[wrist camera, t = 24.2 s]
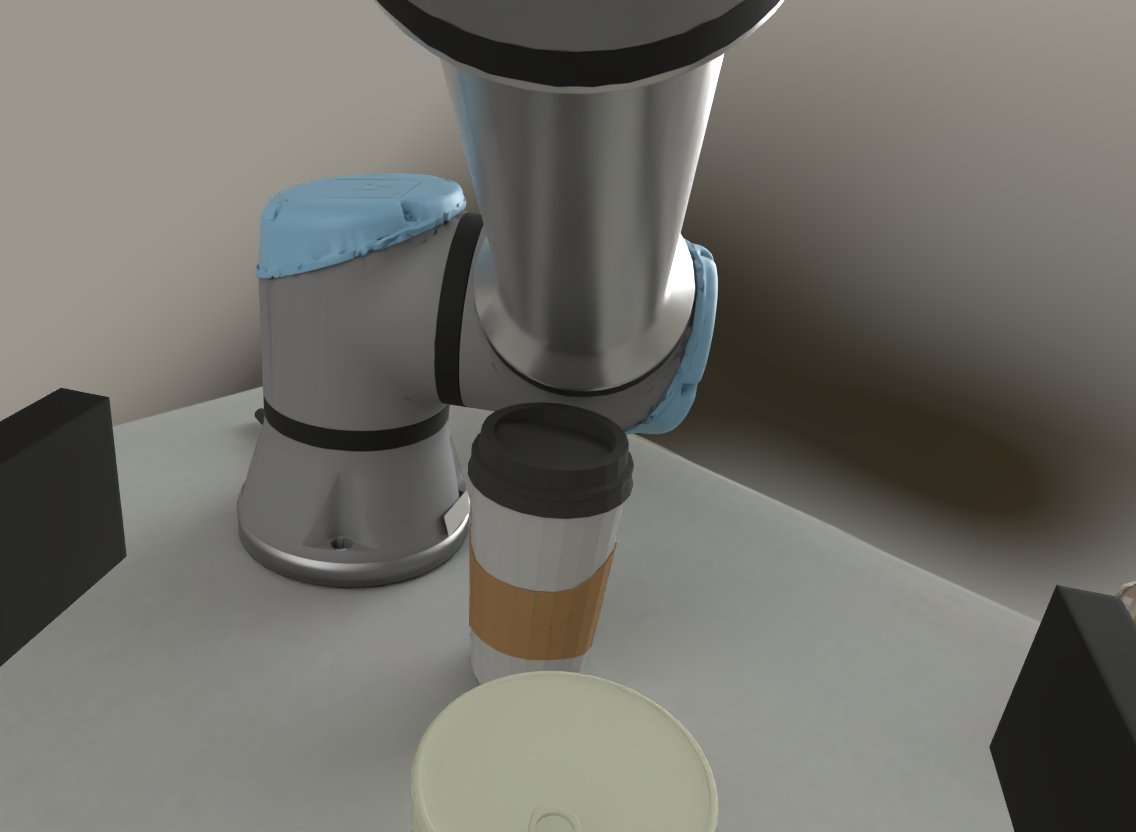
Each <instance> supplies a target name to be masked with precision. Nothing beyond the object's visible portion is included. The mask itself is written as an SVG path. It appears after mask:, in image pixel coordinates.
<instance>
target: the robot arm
mask: <svg viewBox="0 0 1136 832" xmlns="http://www.w3.org/2000/svg"><path fill="white" fill-rule="evenodd" d="M374 1H375V2H376V3H377V4H378V6H379V7H380V9H381V10H382V11H383V12H384V14H385V15H387V16H388V17H389V18H390V20H392V21H393V22H394V23H395V24H396V25H397V26H398V27H399V28H400V29H401V30H402V31H403V32H404V33H405V34H406V35H408V36H409V37H410V38H412V39H413V40H414V41H416V42H417V43H419V44H420V45H421V46H423V47H424V48H426V49H427V50H428V51H430V52H431V53H433V54H435V55H436V56H438V57H440V59H441V63H442V67H443V71H444V75H445V78H446V82H447V86H448V89H449V93H450V97H451V101H452V105H453V109H454V112H455V117H456V120H457V124H458V128H459V131H460V136H461V139H462V143H463V147H464V151H465V154H466V158H467V162H468V166H469V170H470V174H471V178H472V181H473V185H474V189H475V193H476V197H477V200H478V204H479V208H480V212H481V214H477V213H470V212H466V211H464V208H465V207H466V199H465V198H464V196H463V192H462V189H461V187H460V186H459V185H458V184H457V183H456V182H454V181H451V180H449V179H441V178H437V177H435V176H430V175H421V174H397V173H396V174H395V173H393V174H363V175H351V176H341V177H333V178H327V179H321V180H316V181H311V182H307V183H302V184H299V185H296V186H293V187H290V188H288V189H286V190H283V191H282V192H280V193H278V194H277V195H276V196H274V197H273V198H272V199H271V200H270V201H269V202H268V203H267V205H266V207H265V208H264V210H263V213H262V216H261V222H260V246H259V247H260V248H259V264H258V265H257V267H256V275H257V277H258V278H259V299H260V323H261V347H262V371H263V393H264V409H262V408H261V409H258V410H257V411H256V412H255V417H256V419H257V420H258V421H259V422H260V423H261V424H262V425H263V427H262V430H261V433H260V436H259V439H258V442H257V445H256V448H255V451H254V454H253V458H252V461H251V464H250V468H249V471H248V475H247V478H246V481H245V482H244V484H243V486H242V489H241V491H240V495H239V497H238V502H237V511H238V532H239V536H240V539H241V542H242V544H243V546H244V547H245V549H246V550H247V551H248V553H249V554H250V555H251V556H252V557H253V558H254V559H255V560H257V561H258V562H259V563H261V564H262V565H263V566H265V567H267V568H269V569H270V570H272V571H274V572H276V573H278V574H281V575H283V576H286V577H289V578H291V579H295V580H298V581H302V582H306V583H311V584H316V585H323V586H333V587H368V586H378V585H384V584H390V583H395V582H399V581H403V580H407V579H410V578H413V577H416V576H419V575H421V574H424V573H426V572H428V571H430V570H432V569H434V568H436V567H438V566H439V565H441V564H442V563H444V562H445V561H447V560H448V559H449V558H450V557H452V556H453V555H454V554H455V553H456V552H457V551H458V549H459V548H460V547H461V545H462V544H463V542H464V540H465V538H466V535H467V532H468V524H469V512H470V511H471V508H470V499H469V495H468V491H467V488H466V484H465V482H464V480H463V477H462V472H461V468H460V464H459V460H458V456H457V453H456V450H455V446H454V443H453V439H452V436H451V432H450V429H449V404H450V405H456V406H463V407H471V408H478V409H484V410H490V411H497V410H500V409H502V408H505V407H508V406H511V405H517V404H523V403H537V402H545V403H559V404H565V405H571V406H576V407H580V408H583V409H586V410H590V411H593V412H595V413H598V414H600V415H602V416H604V417H606V418H608V419H610V420H611V421H613V422H614V423H615V424H617V425H618V426H619V427H620V428H621V429H622V430H623V432H624V433H625V434H633V433H649V434H662V433H666V432H668V431H671V430H672V429H674V428H675V427H676V426H678V425H679V424H680V423H681V422H682V421H683V419H684V418H685V416H686V415H687V413H688V411H689V409H690V407H691V405H692V403H693V401H694V398H695V395H696V390H697V383H698V382H699V381H700V380H701V378H702V375H703V372H704V369H705V365H706V362H707V358H708V353H709V349H710V344H711V339H712V334H713V328H714V322H715V314H716V304H717V289H718V288H717V287H718V279H717V270H716V265H715V263H714V262H713V257H712V255H711V253H710V252H709V251H708V250H707V249H705V248H704V247H702V246H700V245H697V244H692V243H690V242H689V241H688V240H686V239H683V237H682V236H681V234H680V232H681V228H682V224H683V220H684V216H685V212H686V208H687V203H688V200H689V195H690V191H691V187H692V183H693V179H694V175H695V171H696V166H697V163H698V158H699V154H700V150H701V146H702V142H703V138H704V134H705V129H706V125H707V121H708V117H709V113H710V109H711V105H712V101H713V97H714V93H715V89H716V84H717V80H718V76H719V72H720V68H721V64H722V60H723V55H724V53H726V52H727V51H728V50H730V49H731V48H733V47H734V46H736V45H737V44H738V43H740V42H741V41H743V40H744V39H745V38H747V37H749V36H750V35H751V34H752V33H753V32H754V31H755V30H756V29H757V28H758V27H760V26H761V25H762V24H763V23H764V22H765V21H766V20H767V19H768V18H769V17H770V16H771V15H772V14H773V13H774V12H775V11H776V10H777V8H778V7H779V6H780V5H781V3H782V2H783V1H784V0H374ZM125 557H126V547H125V538H124V528H123V519H122V510H121V501H120V492H119V483H118V474H117V465H116V455H115V446H114V437H113V428H112V419H111V410H110V402H109V397H105V396H100V395H95V394H90V393H84V392H79V391H74V390H69V389H64V388H60V389H58V390H56V391H55V392H53V393H51V394H49V395H47V396H46V397H44V398H42V399H40V400H38V401H36V402H35V403H33V404H31V405H29V406H27V407H26V408H24V409H22V410H20V411H18V412H17V413H15V414H13V415H11V416H9V417H8V418H6V419H4V420H2V421H0V666H2V665H3V664H4V663H5V662H6V661H7V660H8V659H10V658H11V657H12V656H13V655H14V654H15V653H16V652H18V651H19V650H20V649H21V648H22V647H23V646H24V645H26V644H27V643H28V642H29V641H30V640H31V639H32V638H34V637H35V636H36V635H37V634H38V633H39V632H40V631H42V630H43V629H44V628H45V627H46V626H47V625H48V624H50V623H51V622H52V621H53V620H54V619H55V618H56V617H58V616H59V615H60V614H61V613H62V612H63V611H64V610H66V609H67V608H68V607H69V606H70V605H71V604H72V603H74V602H75V601H76V600H77V599H78V598H79V597H81V596H82V595H83V594H84V593H85V592H86V591H87V590H89V589H90V588H91V587H92V586H93V585H94V584H95V583H97V582H98V581H99V580H100V579H101V578H102V577H103V576H105V575H106V574H107V573H108V572H109V571H110V570H111V569H113V568H114V567H115V566H116V565H117V564H118V563H119V562H121V561H122V560H123V559H124V558H125ZM990 751H991V754H992V757H993V761H994V764H995V767H996V771H997V774H998V778H999V781H1000V784H1001V788H1002V791H1003V794H1004V798H1005V801H1006V804H1007V808H1008V811H1009V815H1010V818H1011V821H1012V825H1013V828H1014V831H1015V832H1136V624H1135V622H1134V620H1133V619H1132V617H1131V615H1130V613H1129V612H1128V610H1127V608H1126V607H1125V605H1124V603H1123V602H1122V600H1121V598H1120V597H1115V596H1110V595H1105V594H1099V593H1094V592H1090V591H1084V590H1080V589H1074V588H1069V587H1064V586H1059V585H1056V588H1055V591H1054V592H1053V595H1052V597H1051V600H1050V602H1049V604H1048V607H1047V609H1046V612H1045V614H1044V616H1043V619H1042V621H1041V624H1040V626H1039V629H1038V631H1037V633H1036V636H1035V638H1034V641H1033V643H1032V645H1031V648H1030V650H1029V653H1028V655H1027V657H1026V660H1025V662H1024V665H1023V667H1022V670H1021V672H1020V674H1019V677H1018V679H1017V682H1016V684H1015V686H1014V689H1013V691H1012V694H1011V696H1010V698H1009V701H1008V703H1007V706H1006V708H1005V711H1004V713H1003V715H1002V718H1001V720H1000V723H999V725H998V727H997V730H996V732H995V735H994V737H993V739H992V742H991V744H990Z"/></svg>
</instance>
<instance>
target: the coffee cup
mask: <svg viewBox="0 0 1136 832" xmlns="http://www.w3.org/2000/svg"><path fill="white" fill-rule="evenodd" d="M628 446H629V443H628V440H627V436H626V434H625V433H624V432H623V430H622V429H621V428H620V427H619V426H618V425H617V424H615V423H614V422H613V421H611V420H610V419H608V418H606V417H604V416H602V415H600V414H598V413H595V412H593V411H590V410H586V409H583V408H580V407H576V406H571V405H565V404H559V403H545V402H537V403H523V404H517V405H511V406H508V407H505V408H502V409H500V410H497V411H495V412H494V413H492V414H491V415H489V416H488V417H487V418H486V420H485V421H484V423H483V424H482V429H481V433H480V434H478V436H477V437H476V439H475V440H474V442H473V444H472V452H471V458H470V460H469V463H468V476H469V478H470V480H471V482H472V521H471V524H470V597H469V625H470V627H471V667H472V670H473V673H474V675H475V677H476V678H477V680H478V682H479V684H480V685H482V684H485V683H487V682H490V681H492V680H495V679H498V678H502V677H505V676H509V675H514V674H520V673H526V672H537V671H563V672H573V673H580V674H583V673H584V669H585V665H586V661H587V657H588V653H589V649H590V647H591V646H592V642H593V638H594V634H595V630H596V626H597V622H598V618H599V614H600V609H601V605H602V601H603V597H604V593H605V589H606V585H607V581H608V576H609V572H610V568H611V564H612V560H613V556H614V552H615V548H616V544H617V543H615V540H616V536H617V532H618V528H619V524H620V520H621V515H622V511H623V507H624V503H625V500H626V499H627V498H628V497H629V496H630V494H631V490H632V486H633V481H632V472H633V467H634V464H633V460H632V456H631V454H630V452H629V451H628Z"/></svg>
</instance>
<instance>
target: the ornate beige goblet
mask: <svg viewBox="0 0 1136 832" xmlns="http://www.w3.org/2000/svg"><path fill="white" fill-rule="evenodd" d="M1115 597H1120V598H1121V600H1122V602H1123V603H1124V605H1125V607H1126V608H1127V610H1128V612H1129V613H1130V615H1131V617H1132V619H1133V620H1134V622H1135V624H1136V581H1135V582H1131V583H1125V584H1123V586H1122V587H1121V589H1120V590H1119V591H1118V592H1117V595H1116V596H1115Z"/></svg>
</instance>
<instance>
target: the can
mask: <svg viewBox="0 0 1136 832" xmlns="http://www.w3.org/2000/svg"><path fill="white" fill-rule="evenodd" d="M410 787H411V799H412V831H411V832H715V831H716V826H717V819H718V797H717V788H716V784H715V780H714V776H713V773H712V770H711V768H710V766H709V763H708V761H707V759H706V757H705V755H704V753H703V752H702V750H701V748H700V747H699V745H698V744H697V742H696V741H695V739H694V738H693V737H692V736H691V734H690V733H689V732H688V731H687V729H686V728H685V727H684V726H683V725H682V724H681V723H680V722H679V721H678V720H677V719H676V718H674V717H673V716H672V715H671V714H670V713H669V712H667V711H666V710H665V709H664V708H662V707H661V706H660V705H658V704H656V703H655V702H653V701H652V700H650V699H649V698H647V697H646V696H644V695H642V694H640V693H638V692H636V691H634V690H632V689H630V688H628V687H625V686H623V685H620V684H618V683H616V682H612V681H609V680H606V679H603V678H599V677H595V676H591V675H586V674H580V673H573V672H563V671H537V672H526V673H520V674H514V675H509V676H505V677H502V678H498V679H495V680H492V681H490V682H487V683H485V684H482V685H480V686H477V687H475V688H473V689H472V690H470V691H468V692H466V693H465V694H463V695H461V696H460V697H458V698H457V699H455V700H454V701H453V702H452V703H450V704H449V705H448V706H447V707H446V708H445V709H444V710H443V711H442V712H441V713H440V714H439V715H438V716H437V717H436V718H435V719H434V720H433V722H432V723H431V724H430V725H429V727H428V728H427V730H426V731H425V733H424V735H423V737H422V739H421V741H420V743H419V745H418V748H417V750H416V753H415V756H414V760H413V764H412V771H411V781H410Z"/></svg>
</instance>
